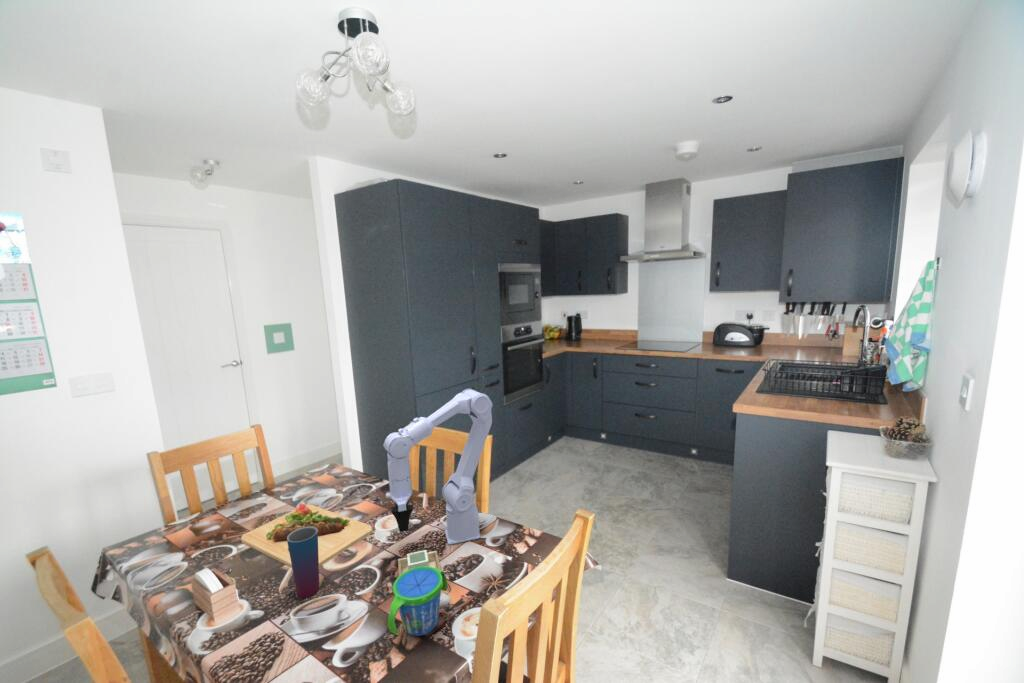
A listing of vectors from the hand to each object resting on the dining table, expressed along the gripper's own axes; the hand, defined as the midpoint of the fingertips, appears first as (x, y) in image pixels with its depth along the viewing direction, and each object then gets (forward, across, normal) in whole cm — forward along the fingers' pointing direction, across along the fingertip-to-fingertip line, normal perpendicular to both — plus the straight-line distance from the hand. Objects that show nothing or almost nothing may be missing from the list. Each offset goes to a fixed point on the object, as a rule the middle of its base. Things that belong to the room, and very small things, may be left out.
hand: (403, 523), depth 115 cm
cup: (+10, +6, -24) cm, 27 cm away
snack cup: (+10, +27, +2) cm, 29 cm away
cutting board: (+10, -22, -29) cm, 37 cm away
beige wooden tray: (+9, +11, +3) cm, 15 cm away
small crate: (+9, +11, +3) cm, 14 cm away
